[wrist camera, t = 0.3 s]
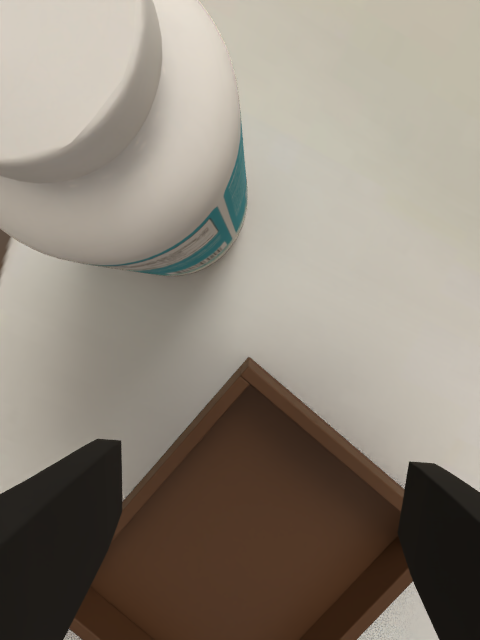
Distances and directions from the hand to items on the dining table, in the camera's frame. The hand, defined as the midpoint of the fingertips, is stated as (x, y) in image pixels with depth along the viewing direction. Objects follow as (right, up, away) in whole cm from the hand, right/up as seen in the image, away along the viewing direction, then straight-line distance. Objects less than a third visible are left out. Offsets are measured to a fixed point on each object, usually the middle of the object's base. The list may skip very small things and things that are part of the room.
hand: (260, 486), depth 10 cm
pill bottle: (-4, +10, +10) cm, 15 cm away
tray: (0, -7, +11) cm, 13 cm away
